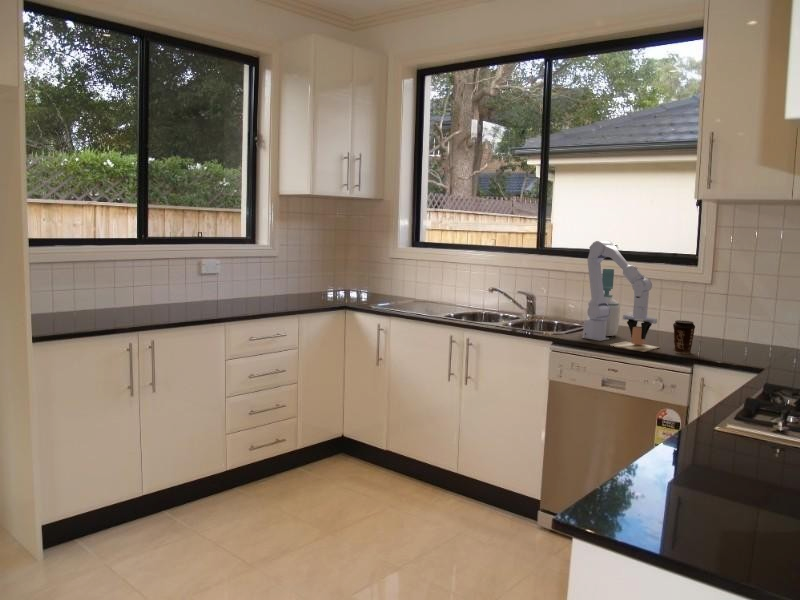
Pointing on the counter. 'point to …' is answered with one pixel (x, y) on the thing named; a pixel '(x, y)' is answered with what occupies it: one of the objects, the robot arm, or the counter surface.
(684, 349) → the coffee cup
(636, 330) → the block
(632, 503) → the counter surface
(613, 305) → the soap bottle
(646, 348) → the board
